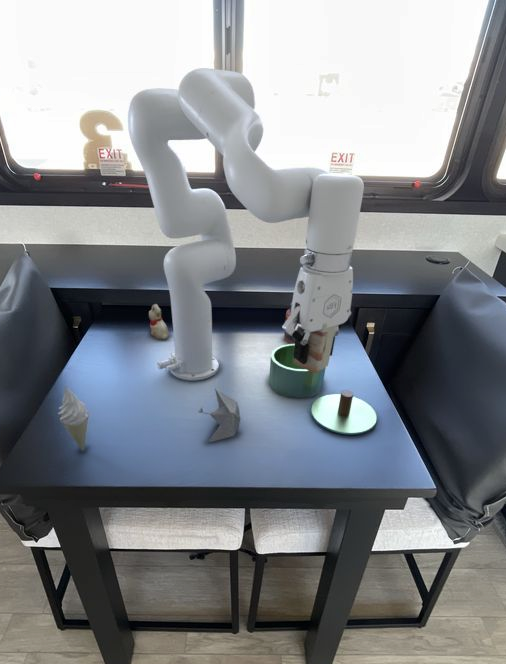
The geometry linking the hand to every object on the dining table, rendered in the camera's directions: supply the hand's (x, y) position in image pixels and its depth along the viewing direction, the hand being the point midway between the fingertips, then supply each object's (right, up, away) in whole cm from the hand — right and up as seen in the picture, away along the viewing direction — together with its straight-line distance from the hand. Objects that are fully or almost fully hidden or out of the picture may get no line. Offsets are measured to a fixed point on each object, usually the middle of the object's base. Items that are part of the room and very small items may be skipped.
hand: (312, 355), depth 77 cm
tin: (0, -5, +26) cm, 27 cm away
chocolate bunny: (-38, +10, +48) cm, 61 cm away
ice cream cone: (-44, -18, +4) cm, 48 cm away
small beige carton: (0, -2, +1) cm, 2 cm away
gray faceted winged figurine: (-18, -14, +12) cm, 26 cm away
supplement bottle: (+3, +8, +46) cm, 47 cm away
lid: (+9, -12, +15) cm, 21 cm away
